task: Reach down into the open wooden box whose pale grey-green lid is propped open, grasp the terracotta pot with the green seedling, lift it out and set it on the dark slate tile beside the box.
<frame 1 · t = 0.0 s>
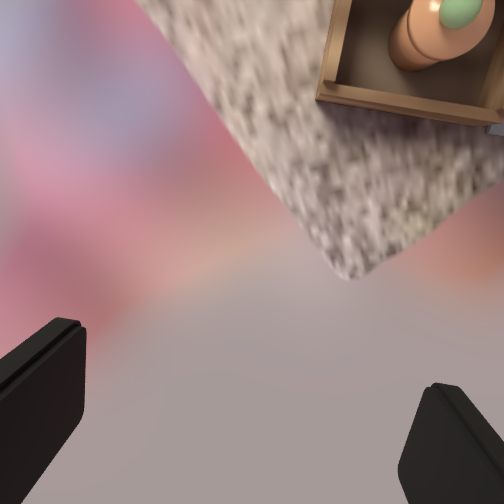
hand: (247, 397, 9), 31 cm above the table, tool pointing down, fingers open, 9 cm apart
terracotta pot: (416, 41, 34), resting on open wooden box
open wooden box: (414, 43, 34), on the table
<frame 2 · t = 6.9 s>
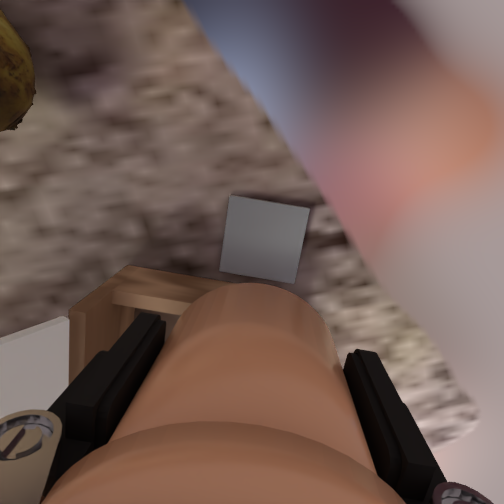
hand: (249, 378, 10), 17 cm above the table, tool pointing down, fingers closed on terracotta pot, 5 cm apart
terracotta pot: (251, 361, 11), point 16 cm above the table, touching gripper
open wooden box: (194, 368, 30), on the table
slate tile: (263, 239, 27), on the table
when the fingers open (3 cm above the table, at t = 9.9 s): terracotta pot drops 1 cm, resting on slate tile.
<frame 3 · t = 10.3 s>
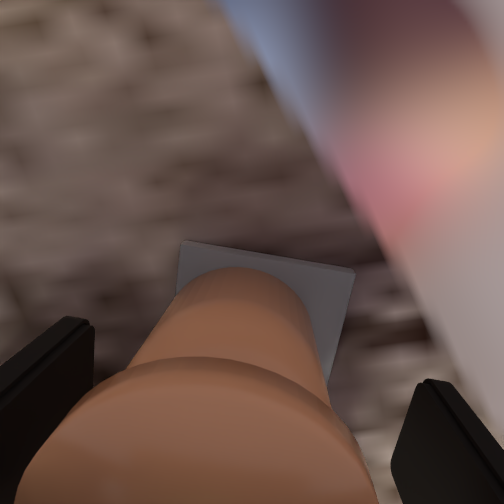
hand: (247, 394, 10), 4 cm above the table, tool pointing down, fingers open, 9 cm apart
terracotta pot: (237, 337, 13), point 1 cm above the table, touching slate tile
slate tile: (254, 329, 13), on the table
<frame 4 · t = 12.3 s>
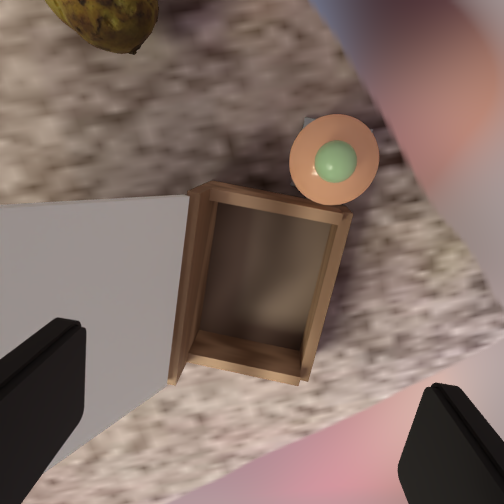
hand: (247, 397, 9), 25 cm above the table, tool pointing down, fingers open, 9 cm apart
lid: (102, 328, 22), point 15 cm above the table, hinge at 115.0°
terracotta pot: (324, 158, 31), point 1 cm above the table, touching slate tile
open wooden box: (262, 274, 36), on the table
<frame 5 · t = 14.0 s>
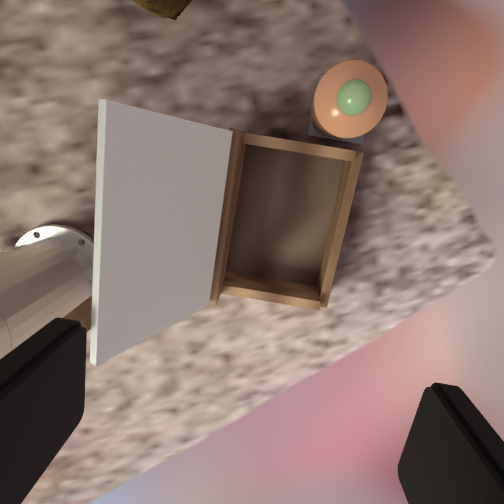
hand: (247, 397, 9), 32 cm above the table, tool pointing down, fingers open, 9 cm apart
lid: (170, 232, 26), point 15 cm above the table, hinge at 115.0°
terracotta pot: (336, 110, 37), point 1 cm above the table, touching slate tile
open wooden box: (282, 218, 41), on the table
slate tile: (340, 110, 37), on the table
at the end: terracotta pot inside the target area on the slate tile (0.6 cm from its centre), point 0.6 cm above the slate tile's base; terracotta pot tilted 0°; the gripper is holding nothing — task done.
